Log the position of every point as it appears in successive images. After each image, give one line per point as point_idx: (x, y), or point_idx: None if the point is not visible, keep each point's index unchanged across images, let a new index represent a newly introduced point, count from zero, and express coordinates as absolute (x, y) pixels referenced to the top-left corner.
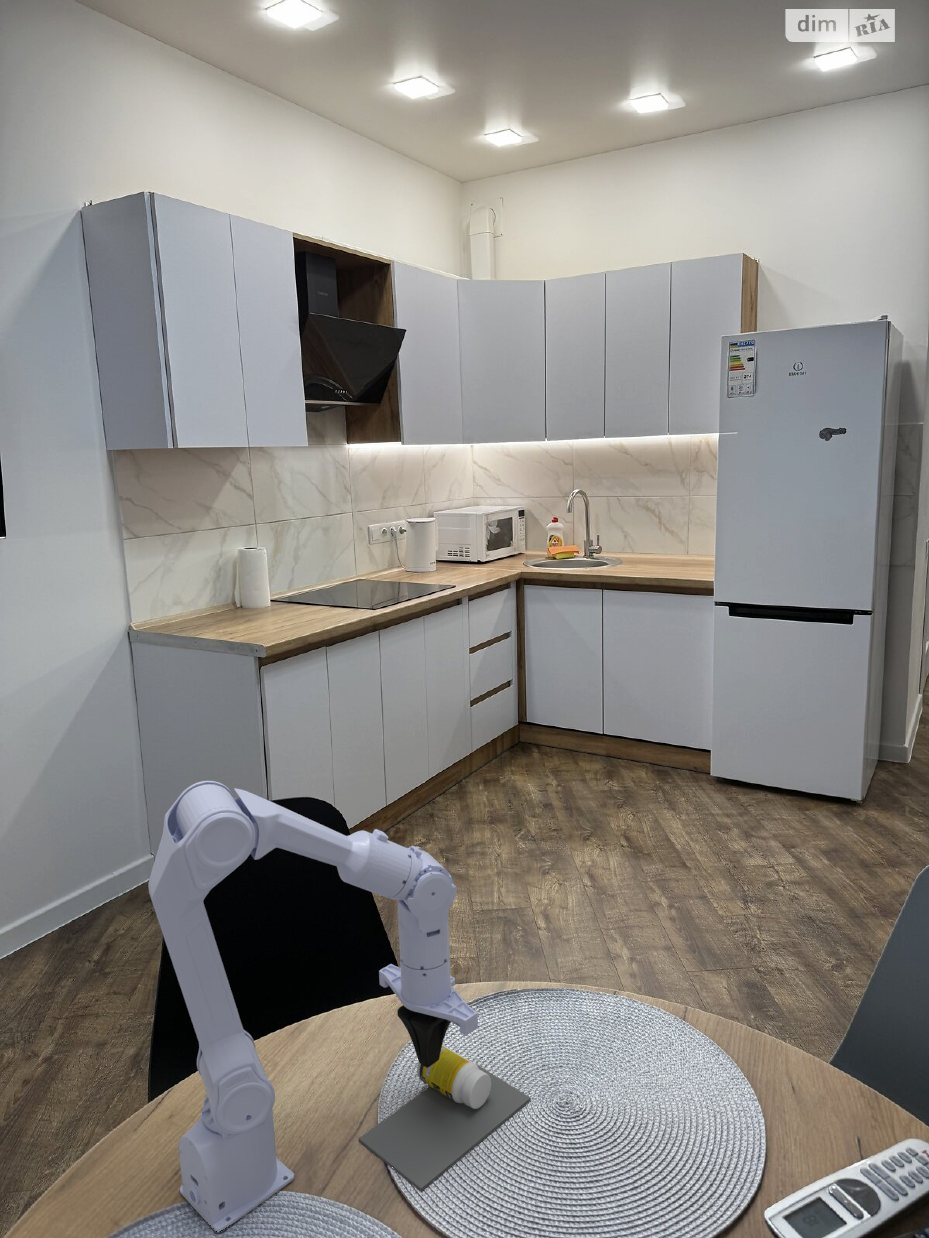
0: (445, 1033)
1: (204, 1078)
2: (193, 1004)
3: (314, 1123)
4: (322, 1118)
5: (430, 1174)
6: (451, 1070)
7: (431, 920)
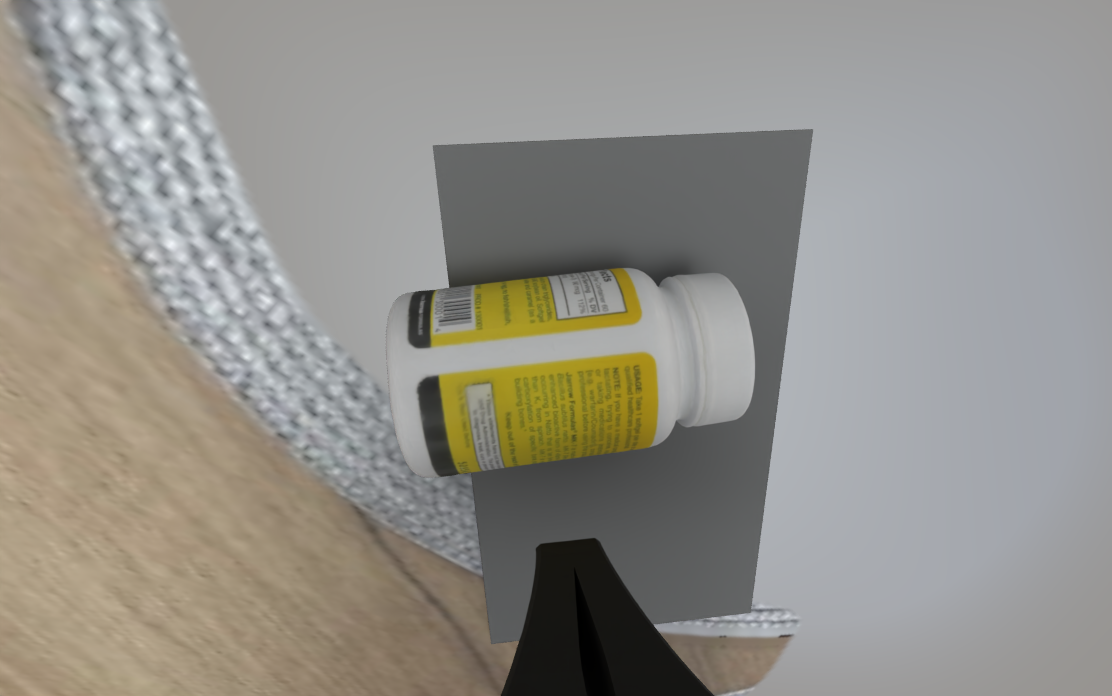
0: (684, 664)
1: None
2: None
3: (342, 683)
4: (338, 663)
5: (740, 576)
6: (616, 443)
7: None
